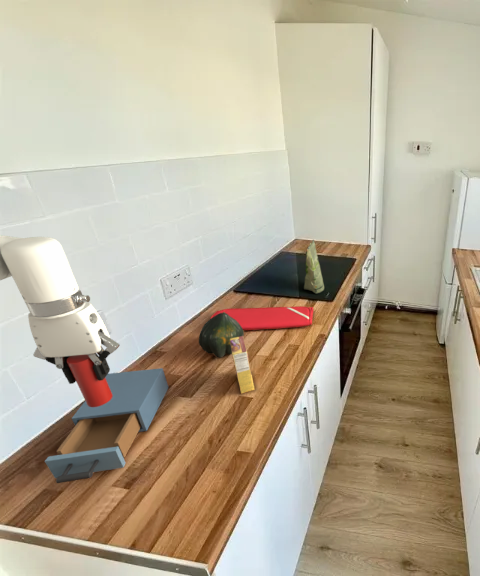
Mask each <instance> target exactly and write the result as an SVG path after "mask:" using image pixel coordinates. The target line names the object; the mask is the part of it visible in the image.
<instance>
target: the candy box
mask: <svg viewBox="0 0 480 576" xmlns="http://www.w3.org/2000/svg"><path fill="white" fill-rule="evenodd" d="M230 345H231V351H232V354H231V355H232V360H233V366H234V370H235V373H236V378H237V382H238V386H239V387H238V388H239V389H240V390H239V391H240V394H241V395H242V394H245V393H248V392H251V391H255V385H254V379H253V375H252V370H251V365H250V359H249V354H248V349H247V346H246V343H245V339H244V338H243V336H240V337H236V338H232V339H230Z"/></svg>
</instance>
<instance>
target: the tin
mask: <svg viewBox="0 0 480 576" xmlns="http://www.w3.org/2000/svg"><path fill="white" fill-rule="evenodd" d="M67 363H68V365H69V368H70V370H71V372H72V374H73V376H74V378H75V380H76V382H75V383H76V385H77V386H78V388H79V390H80V392H81V395H82V397H83V399H84V402H85V401H86V403H87V405H88V406H89V407H98V406H101V405H103V404H105V403H107V402H108V401H110V400H111V398H112V396H113V395H112V392H111V390H110V388H109V385H108V383H107V381H106V378H104V379H103V380H101V381H99V380H98V379H97V376H96V374H95V372H94V370H93V365H94V363H93V361H92V360H91V359H90V358H89V356H88V355H87V354H85V355H75V356H70V357H69V358H68V359H67Z"/></svg>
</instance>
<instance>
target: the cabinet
mask: <svg viewBox="0 0 480 576" xmlns="http://www.w3.org/2000/svg"><path fill="white" fill-rule="evenodd" d="M105 378H106V381H107V383H108V385H109V388H110V390H111V392H112V395H113V396H112V398H111V400H110V401H108V402H107V403H105V404H103V405H101V406H98V407H89V406H88V405H87V403H86V401H85V400H84V401H83V403H82V404H81V405H80V407H79V408H78V409H77V410H76V412H75V413H74V415H73V416H72V417H71V420H72V422H73V425H74V427H75V426H76V424H77V423H78V422H79V420H81V419H89V418H97V417H105V416H113V415H121V414H129V413H137V415H138V418H139V421H140V423H141V427H140V429H139V431H138V433H142V432H147V431H148V429H149V427H150V425H151V423H152V422H153V419H154V417H156V414H157V412H158V410H159V408H160V405H162V401H163V400H164V398H165V396H166V393H167V392H168V389H169V388H170V387H169V384H168V381H167V378H166V375H165V371H164V369H163V368H162V367H161V368H149V369H140V370H131V371H122V372H111V373H110V372H109V373H108V374H107V375H106V377H105Z"/></svg>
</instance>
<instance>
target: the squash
mask: <svg viewBox="0 0 480 576" xmlns="http://www.w3.org/2000/svg"><path fill="white" fill-rule="evenodd" d="M211 317H212V316H211ZM211 317H210V318H211ZM210 318H209V319H208V320H207V321H206V322H205V323H204V324H203V326H202V328H201V329H200V331H199V335H198V345H199V346H200V348H201V349H202V351H204V352H205V353H207V354H209V355H213V356H215V357H216V358H219V359H221V358H223V357H224V356H225V355H227V356H228V355H230V356H231V355H232V351H231V345H230V339H232V338H236V337H240V336H243V338H244V336H245V330H243V329H242V327H241V326H240V324H239V323H238V322H237V321H236V320H235V319H234V318H232V317H230V316H229V315H228V314H226V313H225V312H223V313H219V314H217V315H216V316H214V317H212V318H211V319H210Z"/></svg>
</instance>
